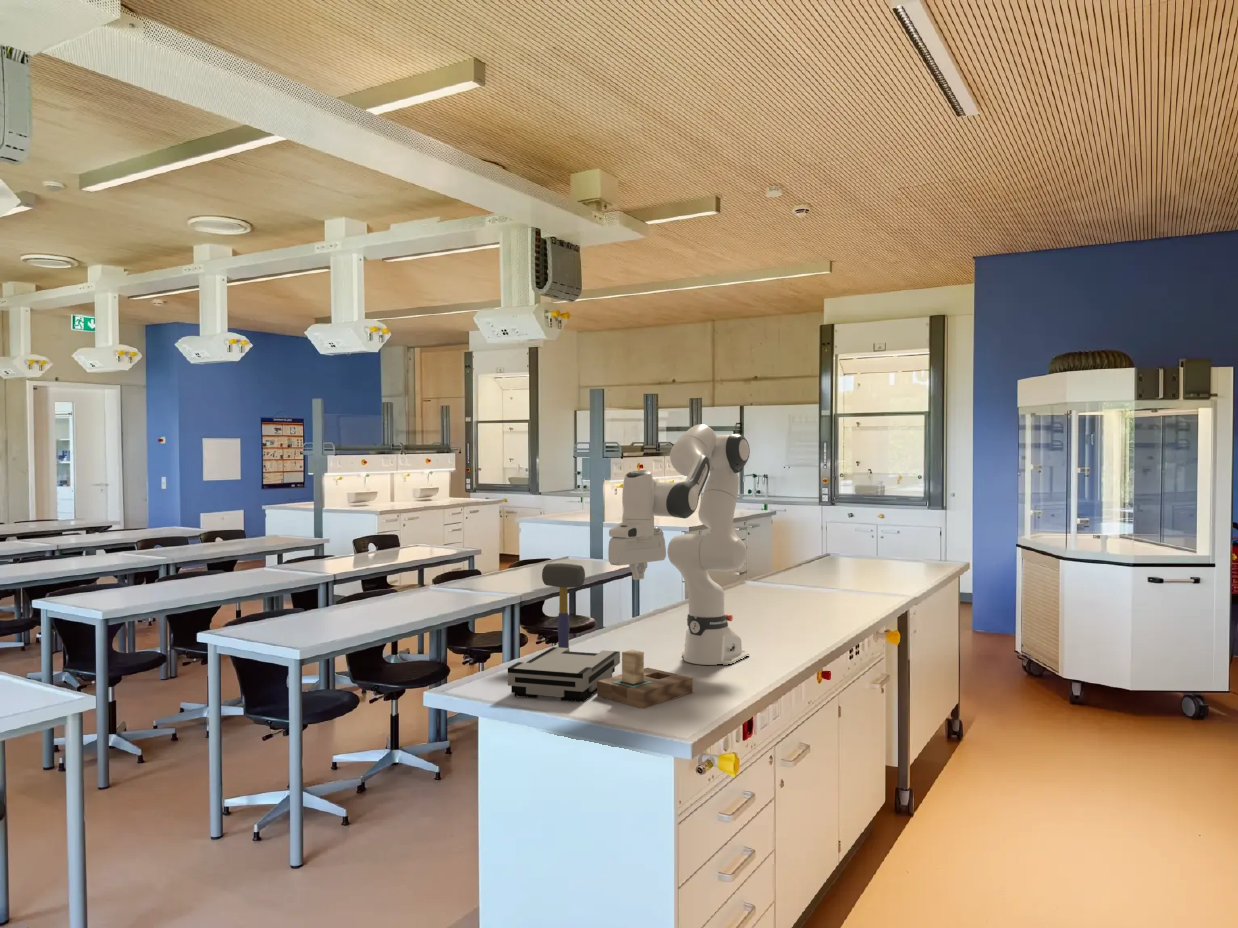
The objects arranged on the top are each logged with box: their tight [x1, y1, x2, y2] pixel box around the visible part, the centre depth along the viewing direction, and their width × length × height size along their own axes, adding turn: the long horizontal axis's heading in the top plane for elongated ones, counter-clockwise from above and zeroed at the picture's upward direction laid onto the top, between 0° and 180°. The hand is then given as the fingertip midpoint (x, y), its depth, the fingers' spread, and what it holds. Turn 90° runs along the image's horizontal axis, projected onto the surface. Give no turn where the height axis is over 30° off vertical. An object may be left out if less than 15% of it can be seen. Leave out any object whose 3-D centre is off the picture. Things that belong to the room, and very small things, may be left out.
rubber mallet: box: [541, 562, 586, 652], centre depth 260 cm, size 12×8×30 cm, turn 68°
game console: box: [507, 646, 621, 703], centre depth 229 cm, size 21×32×8 cm, turn 163°
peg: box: [621, 649, 645, 686], centre depth 217 cm, size 4×4×12 cm
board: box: [596, 667, 694, 709], centre depth 220 cm, size 20×16×4 cm
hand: (638, 579), depth 230 cm, fingers closed
